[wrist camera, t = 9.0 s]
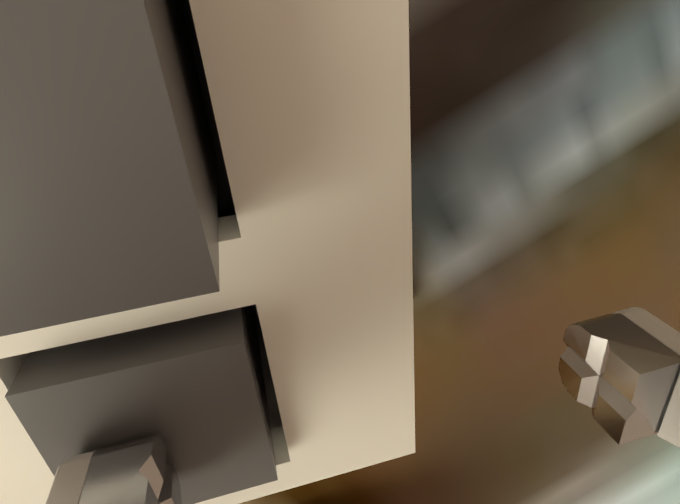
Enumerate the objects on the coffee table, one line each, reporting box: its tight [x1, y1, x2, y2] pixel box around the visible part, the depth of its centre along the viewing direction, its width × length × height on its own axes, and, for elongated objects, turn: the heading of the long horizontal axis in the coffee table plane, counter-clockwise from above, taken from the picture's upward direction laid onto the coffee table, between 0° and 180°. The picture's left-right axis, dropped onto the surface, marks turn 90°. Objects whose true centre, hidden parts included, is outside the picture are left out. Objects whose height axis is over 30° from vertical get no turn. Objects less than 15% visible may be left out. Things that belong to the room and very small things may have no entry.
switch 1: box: [0, 0, 220, 337], centre depth 7 cm, size 4×4×6 cm
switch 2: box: [5, 209, 278, 504], centre depth 11 cm, size 4×4×6 cm
